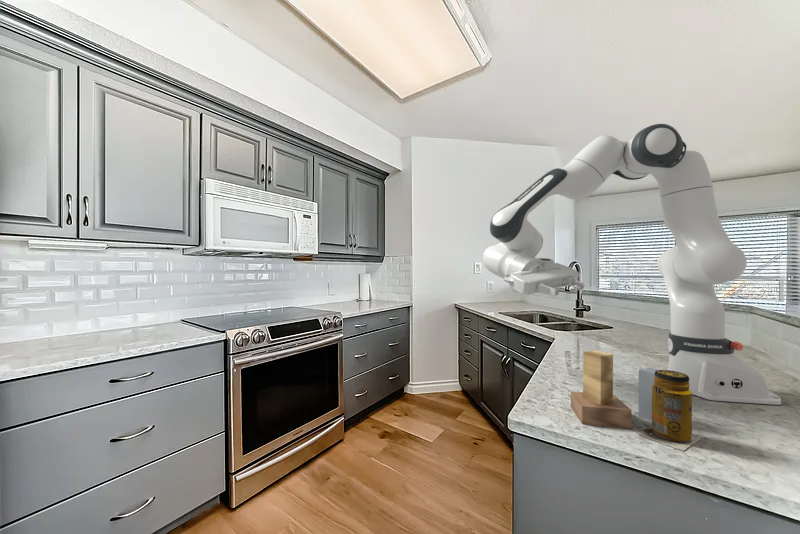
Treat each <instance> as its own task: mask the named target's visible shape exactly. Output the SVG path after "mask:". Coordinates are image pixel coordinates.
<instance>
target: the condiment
mask: <svg viewBox="0 0 800 534" xmlns="http://www.w3.org/2000/svg"><path fill="white" fill-rule="evenodd" d="M654 375H655V379H654V384H653V385H652V421H651V426H649V427H647V428H644V429H643V430H640V431H639V432H636V434H637V435H639V436H641V437H644V438H646V439H648V440H652V441H654V442H656V443H659V444H662V445H665V446H668V447H670V448H674V449H677V450H680V451H685V450H687V449H688V448H689V447H691V446H693V445H695V444H696V443H697V442H698V441H699V440H701V437H699V436H695V435H693V433H692V432H693V429H692V428H693V426H692V425H693V394H692V392H691V391H690V389H689V387H690V384H689V380H690V379H689V376H688V375H686V374H684V373H680V372H676V371H671V370H667V369H657V371H655V373H654Z"/></svg>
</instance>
